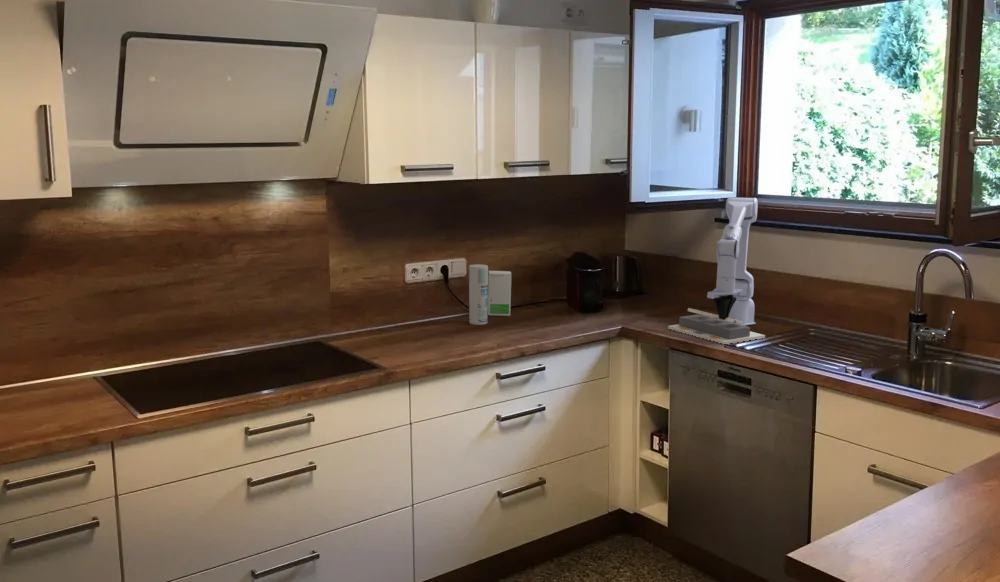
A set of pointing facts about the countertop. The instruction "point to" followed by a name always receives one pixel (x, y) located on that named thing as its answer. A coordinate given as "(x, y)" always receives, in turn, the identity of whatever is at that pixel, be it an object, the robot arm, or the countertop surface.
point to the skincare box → (499, 293)
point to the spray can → (478, 294)
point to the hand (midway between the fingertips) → (723, 318)
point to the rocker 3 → (732, 320)
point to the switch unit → (714, 329)
